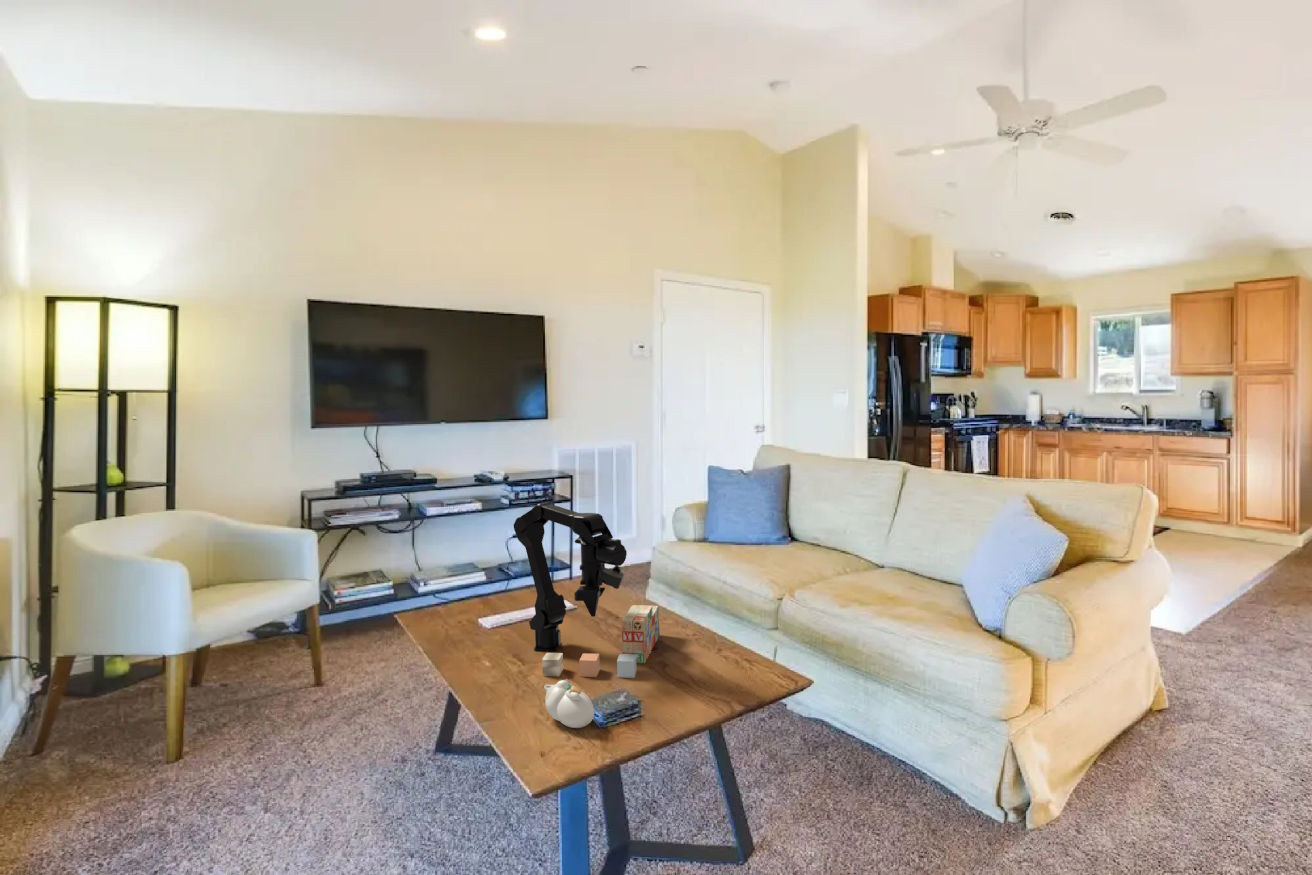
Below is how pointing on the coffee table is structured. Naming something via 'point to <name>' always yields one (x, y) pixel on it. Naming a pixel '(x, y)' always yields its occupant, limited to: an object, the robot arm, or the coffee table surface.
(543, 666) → the cream block
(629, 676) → the blue grey block
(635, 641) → the stack of blocks
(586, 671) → the terracotta block
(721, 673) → the coffee table surface
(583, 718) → the cat figurine
